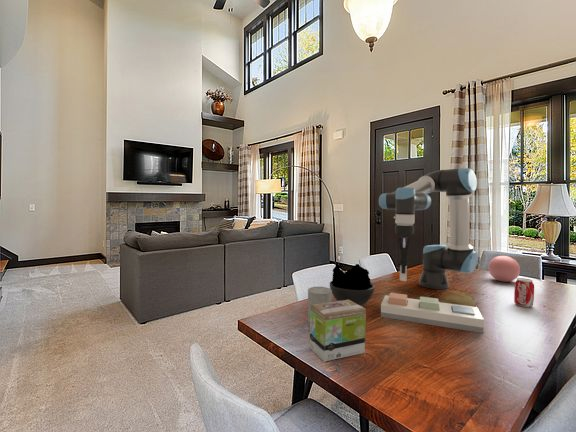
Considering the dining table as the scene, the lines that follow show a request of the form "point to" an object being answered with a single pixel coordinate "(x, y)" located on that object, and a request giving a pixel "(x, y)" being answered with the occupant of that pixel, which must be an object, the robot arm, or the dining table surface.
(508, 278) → the balloon
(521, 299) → the soda can
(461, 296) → the bread roll
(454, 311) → the button blue
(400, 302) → the button terracotta
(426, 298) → the button sage
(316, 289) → the gray cylinder
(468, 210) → the robot arm
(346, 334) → the tea box
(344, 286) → the coal bowl
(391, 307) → the console
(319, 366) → the dining table surface
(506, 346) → the dining table surface
